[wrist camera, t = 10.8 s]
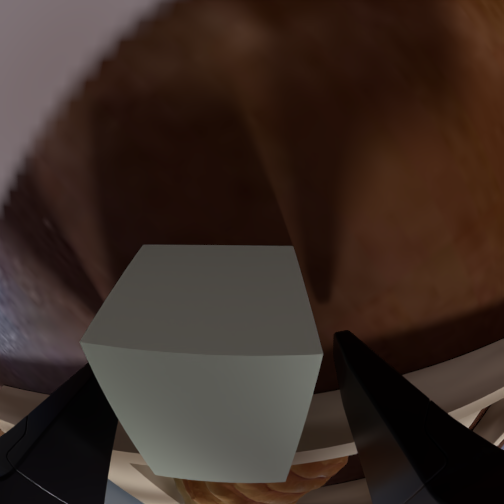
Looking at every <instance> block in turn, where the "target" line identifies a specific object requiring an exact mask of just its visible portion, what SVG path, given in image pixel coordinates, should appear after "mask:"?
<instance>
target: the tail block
mask: <svg viewBox="0 0 504 504" xmlns="http://www.w3.org/2000/svg"><path fill="white" fill-rule="evenodd" d="M80 344H81V346H82V349H83V351H84V353H85V355H86V358H87V360H88V362H89V364H90V366H91V368H92V370H93V373H94V375H95V377H96V379H97V381H98V383H99V385H100V387H101V389H102V390H103V392H104V394H105V396H106V398H107V400H108V402H109V404H110V405H111V407H112V409H113V411H114V412H115V414H116V416H117V418H118V419H119V421H120V423H121V424H122V426H123V428H124V429H125V431H126V433H127V434H128V436H129V437H130V439H131V441H132V442H133V444H134V445H135V447H136V448H137V450H138V451H139V453H140V454H141V456H142V457H143V459H144V460H145V461H146V463H147V464H148V466H149V467H150V469H151V470H152V471H153V473H154V474H155V475H159V476H165V477H172V478H180V479H188V480H198V481H210V482H228V483H275V482H285V481H286V479H287V476H288V473H289V470H290V467H291V464H292V461H293V458H294V455H295V452H296V449H297V446H298V443H299V440H300V437H301V434H302V430H303V427H304V424H305V421H306V417H307V414H308V410H309V407H310V403H311V400H312V396H313V392H314V389H315V385H316V381H317V377H318V373H319V369H320V365H321V361H322V357H323V351H322V347H321V343H320V340H319V336H318V332H317V328H316V325H315V321H314V317H313V313H312V310H311V306H310V303H309V299H308V295H307V292H306V288H305V285H304V281H303V278H302V274H301V271H300V267H299V264H298V260H297V257H296V254H295V250H294V247H293V246H250V245H143V246H142V247H141V248H140V250H139V251H138V253H137V254H136V255H135V257H134V258H133V260H132V261H131V263H130V264H129V265H128V267H127V268H126V270H125V271H124V273H123V274H122V276H121V277H120V279H119V280H118V282H117V283H116V285H115V286H114V288H113V289H112V291H111V292H110V294H109V295H108V297H107V298H106V300H105V301H104V303H103V305H102V306H101V308H100V309H99V311H98V313H97V314H96V316H95V317H94V319H93V321H92V322H91V324H90V326H89V327H88V329H87V330H86V332H85V334H84V335H83V337H82V339H81V341H80Z"/></svg>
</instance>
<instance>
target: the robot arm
mask: <svg viewBox="0 0 504 504" xmlns="http://www.w3.org/2000/svg"><path fill="white" fill-rule="evenodd" d="M333 357H334V363H335V368H336V373H337V378H338V383H339V389H340V394H341V399H342V404H343V407H344V411H345V414H346V417H347V420H348V424H349V427H350V430H351V433H352V436H353V439H354V443H355V446H356V449H357V452H358V456H359V459H360V462H361V465H362V469H363V472H364V476H365V479H366V482H367V486H368V489H369V493H370V496H371V500H372V503H373V504H504V450H502V449H501V448H499V447H497V446H496V445H494V444H492V443H491V442H489V441H488V440H486V439H484V438H483V437H481V436H480V435H478V434H477V433H475V432H473V431H472V430H470V429H469V428H467V427H466V426H464V425H463V424H462V423H460V422H459V421H457V420H456V419H454V418H453V417H452V416H450V415H449V414H448V413H447V412H445V411H444V410H443V409H442V408H440V407H439V406H438V405H437V404H436V403H434V402H433V401H432V400H430V399H429V398H428V397H427V396H426V395H425V394H424V393H422V392H421V391H420V390H419V389H418V388H417V387H415V386H414V385H413V384H412V383H411V382H409V381H408V380H407V379H406V378H405V377H404V376H402V375H401V374H400V373H399V372H398V371H396V370H395V369H394V368H393V367H392V366H390V365H389V364H388V363H387V362H386V361H385V360H383V359H382V358H381V357H380V356H379V355H377V354H376V353H375V352H374V351H373V350H371V349H370V348H369V347H368V346H367V345H366V344H364V343H363V342H362V341H361V340H360V339H358V338H357V337H356V336H355V335H354V334H352V333H351V332H350V331H348V330H345V331H340V332H336V333H334V340H333ZM117 425H118V418H117V416H116V414H115V412H114V411H113V409H112V407H111V405H110V404H109V402H108V400H107V398H106V396H105V394H104V392H103V390H102V389H101V387H100V385H99V383H98V381H97V379H96V377H95V375H94V373H93V370H92V368H91V366H90V364H89V363H87V364H86V365H85V366H84V367H83V368H82V369H80V370H79V371H78V372H77V373H76V374H74V375H73V376H72V377H71V378H70V379H68V380H67V381H66V382H65V383H64V384H63V385H61V386H60V387H59V388H58V389H57V390H56V391H54V392H53V393H52V394H51V395H50V396H49V397H47V398H46V399H45V400H44V401H43V402H42V403H40V404H39V405H38V406H37V407H36V408H35V409H33V410H32V411H31V412H30V413H29V414H28V415H26V416H25V417H24V418H23V419H22V420H21V421H20V422H18V423H17V424H16V425H15V426H14V427H12V428H11V429H10V430H9V431H7V432H6V433H5V434H3V435H2V436H1V437H0V504H104V503H105V495H106V488H107V481H108V475H109V468H110V462H111V456H112V451H113V445H114V440H115V435H116V430H117Z"/></svg>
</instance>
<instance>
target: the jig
mask: <svg viewBox="0 0 504 504" xmlns="http://www.w3.org/2000/svg"><path fill="white" fill-rule="evenodd" d="M402 376H404V377H405V378H406V379H407V380H408V381H409V382H411V383H412V384H413V385H414V386H415V387H417V388H418V389H419V390H420V391H421V392H422V393H424V394H425V395H426V396H427V397H428V398H429V399H430V400H432V401H433V402H434V403H436V404H437V405H438V406H439V407H440V408H442V409H443V410H444V411H445V412H447V413H448V414H449V415H450V416H452V417H453V418H454V419H456V420H457V421H459V422H460V423H462V424H463V425H464V426H466V427H467V428H469V426H470V425H471V424H472V422H473V421H474V419H475V418H476V416H477V415H478V414H479V412H480V411H481V409H483V408H485V407H487V406H489V405H491V404H492V405H491V406H490V407H489V409H488V410H487V412H486V413H485V415H484V416H483V417H482V419H481V420H480V422H479V423H478V424H477V426H476V427H475V428H474V430H473V432H475V433H477V434H478V435H480V436H481V437H483V438H484V439H486V440H488V441H489V442H491V443H492V444H494V445H496V446H497V445H498V444H499V443H500V442H501V441H502V440H503V439H504V339H501V340H499V341H497V342H495V343H492V344H490V345H487V346H485V347H483V348H480V349H478V350H475V351H473V352H470V353H468V354H465V355H462V356H460V357H457V358H454V359H451V360H448V361H446V362H443V363H440V364H437V365H434V366H431V367H427V368H424V369H421V370H418V371H414V372H411V373H408V374H404V375H402ZM49 396H50V395H47V394H42V393H36V392H31V391H26V390H22V389H17V388H13V387H9V386H5V385H3V386H2V388H1V389H0V428H1V429H2V430H3V431H4V432H5V433H6V432H7V431H9V430H10V429H11V428H12V427H14V426H15V425H16V424H17V423H18V422H20V421H21V420H22V419H23V418H24V417H25V416H26V415H28V414H29V413H30V412H31V411H32V410H33V409H35V408H36V407H37V406H38V405H39V404H40V403H42V402H43V401H44V400H45V399H46V398H47V397H49ZM357 453H358V452H357V449H356V446H355V443H354V439H353V436H352V433H351V430H350V427H349V424H348V420H347V417H346V414H345V411H344V407H343V404H342V399H341V394H340V390H336V391H331V392H325V393H319V394H313V396H312V400H311V403H310V407H309V410H308V414H307V417H306V421H305V424H304V427H303V430H302V434H301V437H300V440H299V443H298V446H297V449H296V452H295V455H294V458H293V461H292V464H291V465H296V464H304V463H310V462H317V461H323V460H328V459H334V458H339V457H344V456H349V455H353V454H357ZM108 479H109V480H111V481H112V482H113V483H115V484H116V485H117V486H119V487H120V488H122V489H123V490H124V491H126V492H127V493H129V494H130V495H132V496H133V497H135V498H136V499H138V500H140V501H141V502H143V503H144V504H185V502H184V499H183V497H182V496H181V494H180V493H179V492H178V490H177V488H176V484H175V481H174V479H173V478H172V477H165V476H159V475H155V474H154V473H153V471H152V470H151V469H150V467H149V466H148V464H147V463H146V461H145V460H144V459H143V457H142V456H141V454H140V453H139V451H138V450H137V448H136V447H135V445H134V444H133V442H132V441H131V439H130V437H129V436H128V434H127V433H126V431H125V429H124V428H123V426H122V424H121V423H120V421H119V419H118V425H117V430H116V435H115V440H114V445H113V451H112V456H111V462H110V468H109V475H108ZM295 504H373V503H372V500H371V496H370V493H369V489H368V486H367V482H366V479H365V478H363V479H359V480H355V481H350V482H346V483H341V484H336V485H331V486H325V487H319V488H318V489H314V490H311V491H310V492H308V493H306V494H305V495H303V496H302V497H301V498H299V500H298V501H297V502H296V503H295Z"/></svg>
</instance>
